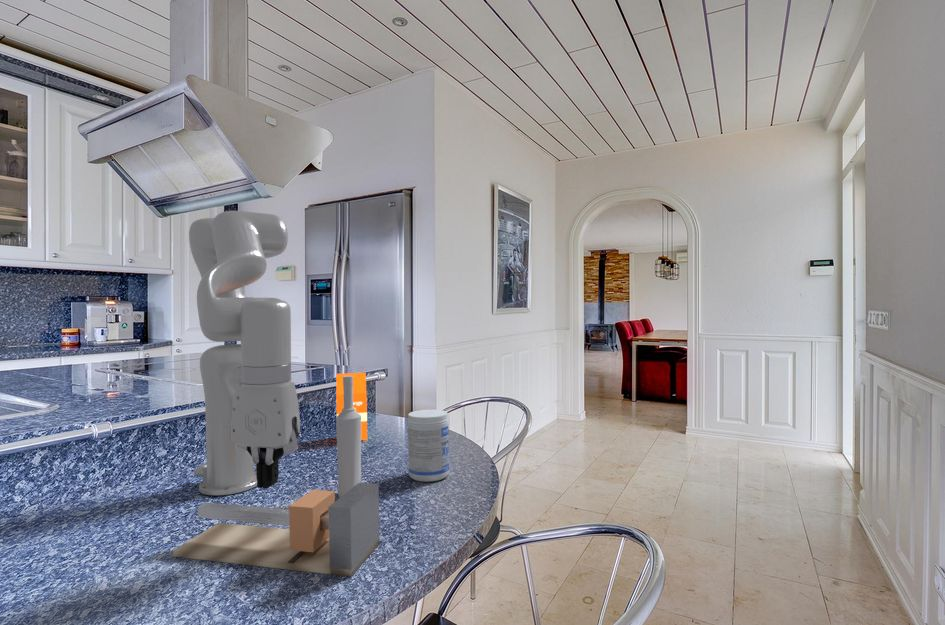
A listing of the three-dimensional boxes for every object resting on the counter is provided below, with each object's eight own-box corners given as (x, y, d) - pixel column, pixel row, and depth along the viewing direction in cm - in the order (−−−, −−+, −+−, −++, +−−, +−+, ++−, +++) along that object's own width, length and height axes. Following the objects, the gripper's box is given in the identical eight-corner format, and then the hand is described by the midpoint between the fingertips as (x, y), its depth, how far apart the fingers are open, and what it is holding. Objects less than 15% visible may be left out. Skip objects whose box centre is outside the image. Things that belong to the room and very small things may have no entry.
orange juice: (337, 436, 149) (336, 372, 149) (367, 434, 151) (365, 371, 151) (336, 443, 142) (335, 375, 141) (367, 441, 144) (366, 374, 143)
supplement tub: (452, 481, 109) (451, 416, 109) (410, 485, 107) (409, 418, 107) (445, 467, 119) (444, 407, 118) (406, 471, 116) (405, 410, 116)
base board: (173, 556, 77) (173, 548, 77) (219, 528, 87) (218, 521, 87) (351, 576, 70) (351, 568, 70) (379, 544, 80) (379, 536, 80)
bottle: (356, 500, 99) (353, 378, 99) (332, 498, 100) (330, 378, 100) (366, 490, 104) (364, 374, 104) (344, 489, 105) (342, 374, 105)
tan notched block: (289, 549, 74) (289, 506, 74) (313, 530, 81) (313, 489, 81) (313, 552, 74) (312, 507, 73) (335, 532, 80) (334, 491, 80)
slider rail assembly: (178, 556, 77) (177, 494, 77) (223, 528, 87) (222, 473, 87) (351, 576, 70) (350, 508, 70) (379, 544, 80) (378, 483, 80)
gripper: (210, 376, 77) (211, 489, 78) (294, 381, 74) (294, 499, 75) (242, 369, 84) (243, 472, 85) (320, 373, 81) (320, 480, 82)
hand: (267, 484), depth 80 cm, fingers closed
